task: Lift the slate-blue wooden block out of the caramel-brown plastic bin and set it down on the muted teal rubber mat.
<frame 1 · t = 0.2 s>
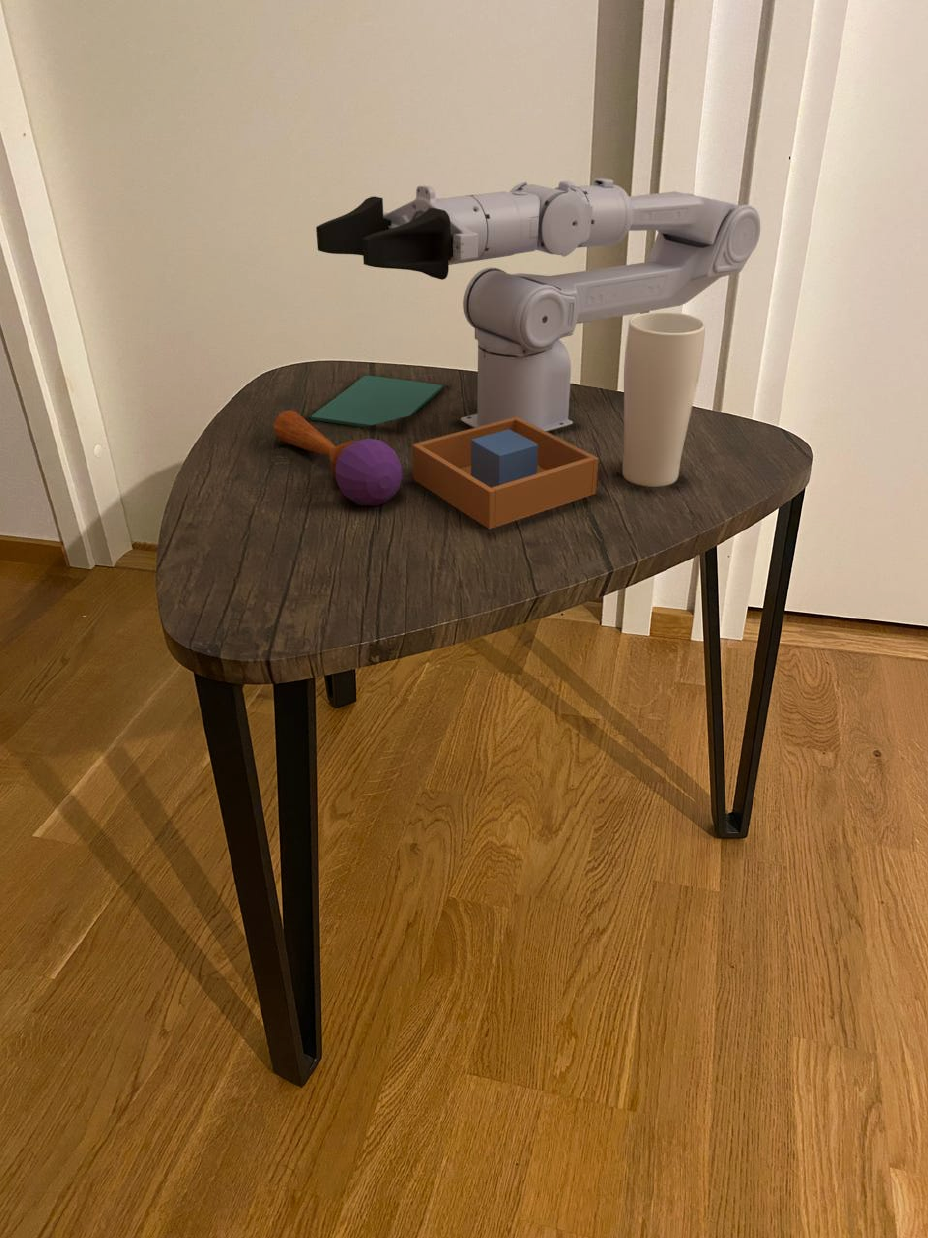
hand: (341, 245, 84), 21 cm above the table, tool horizontal, fingers open, 7 cm apart
mat: (379, 403, 111), on the table
bin: (503, 490, 92), on the table
block: (503, 485, 91), resting on bin
white vase: (649, 480, 94), on the table
maraca: (335, 477, 95), on the table
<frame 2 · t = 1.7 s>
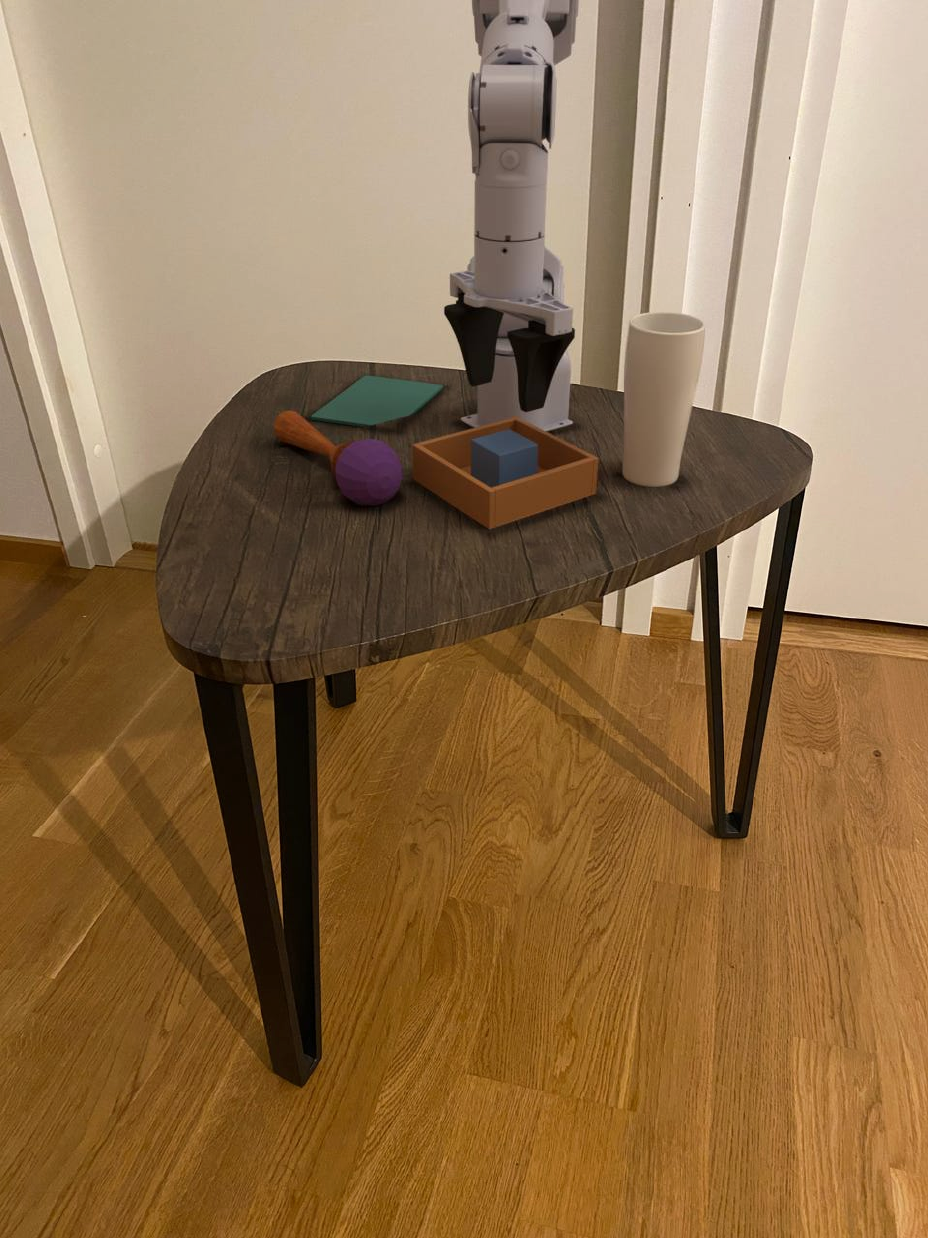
hand: (505, 395, 87), 9 cm above the table, tool pointing down, fingers open, 7 cm apart
nothing on the table moved.
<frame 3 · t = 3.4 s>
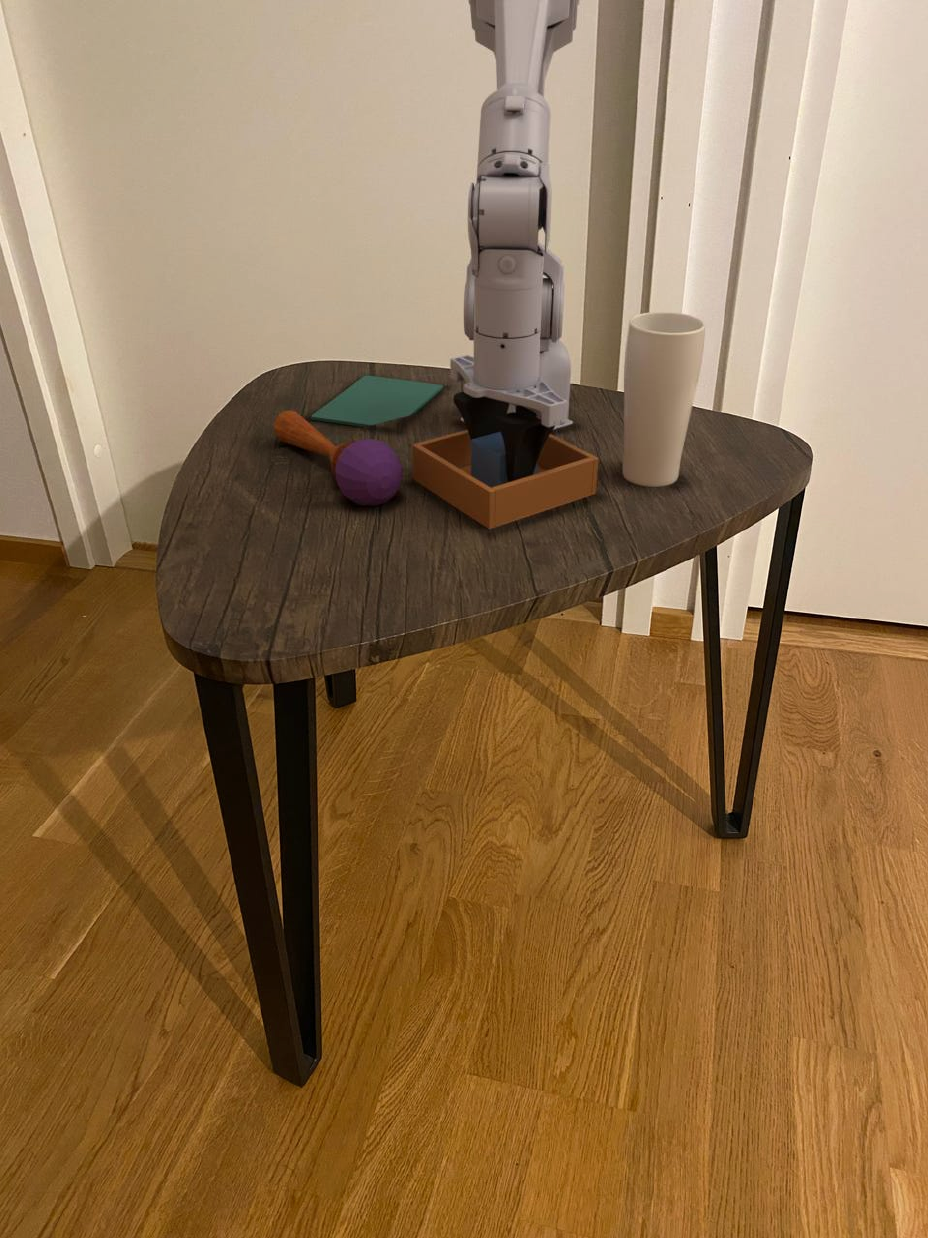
hand: (503, 474, 91), 2 cm above the table, tool pointing down, fingers closed on block, 4 cm apart
block: (503, 485, 91), resting on bin, touching gripper
everything else where it was.
when the fingers open (1 cm above the table, at t = 9.2 s): block stays where it is, resting on mat.
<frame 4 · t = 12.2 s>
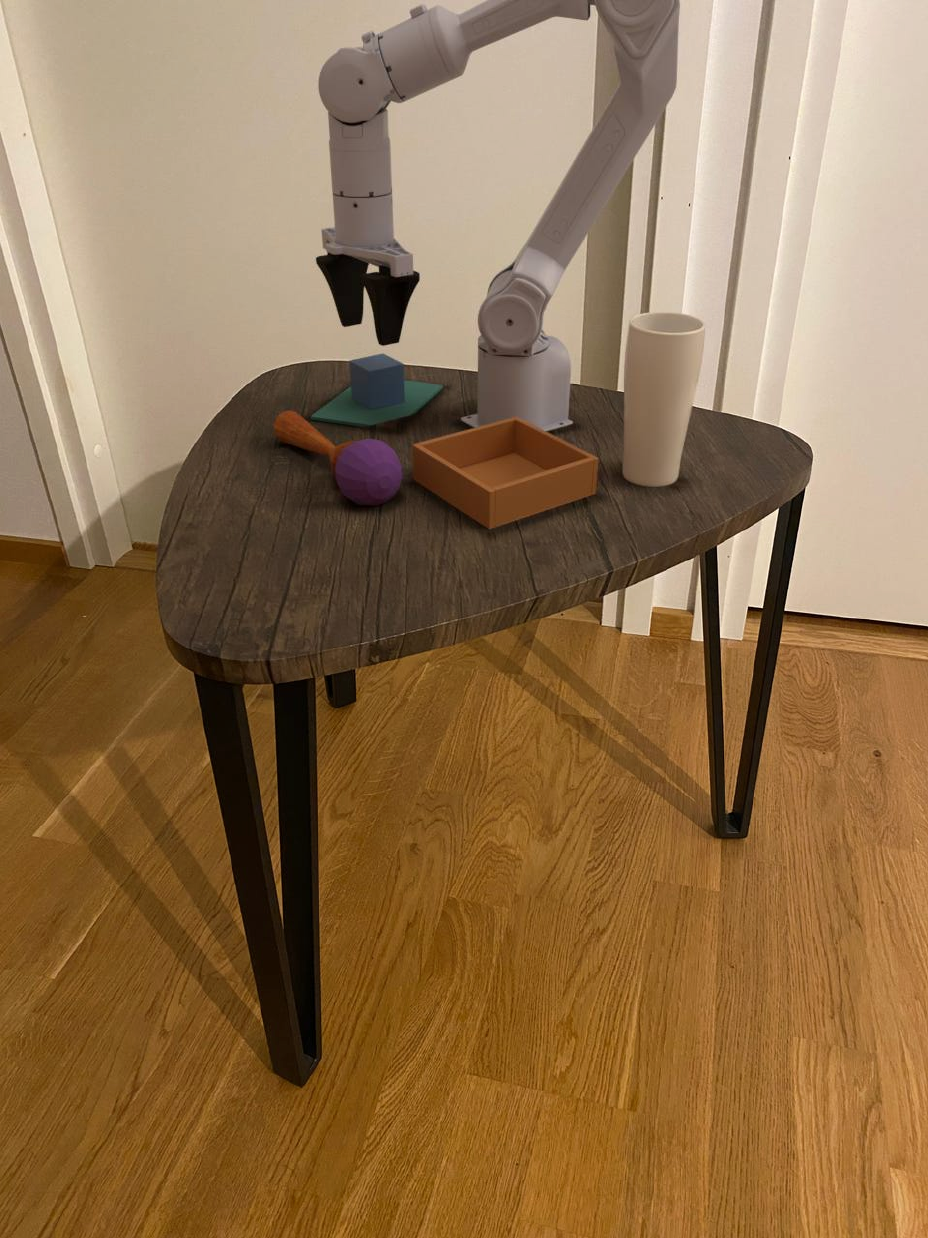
hand: (369, 333, 101), 9 cm above the table, tool pointing down, fingers open, 7 cm apart
block: (378, 400, 110), resting on mat
everything else where it was.
at the end: block inside the target area on the mat (0.1 cm from its centre), point 0.4 cm above the mat's base; block touching mat; the gripper is holding nothing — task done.
